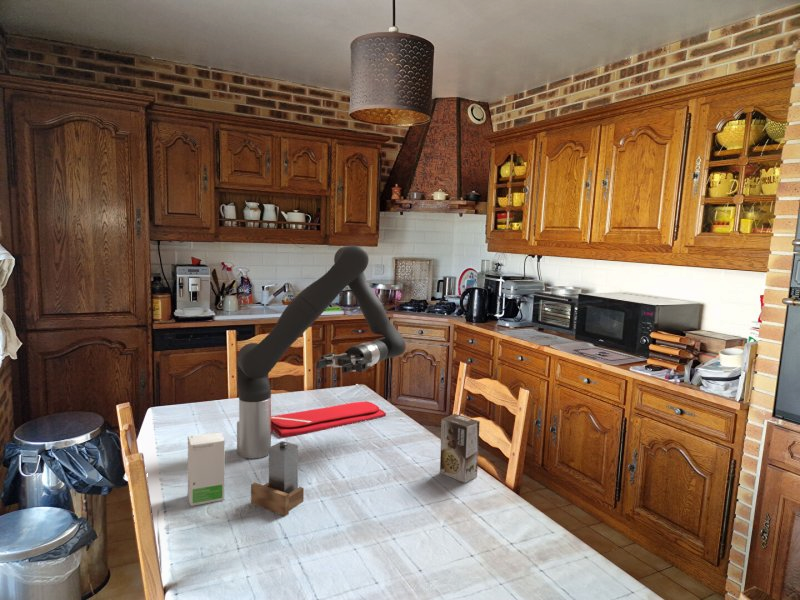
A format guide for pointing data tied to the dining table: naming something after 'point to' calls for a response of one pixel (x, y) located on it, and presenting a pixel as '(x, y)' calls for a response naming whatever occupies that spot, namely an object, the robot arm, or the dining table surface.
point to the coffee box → (459, 447)
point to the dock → (275, 498)
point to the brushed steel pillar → (283, 467)
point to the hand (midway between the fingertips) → (330, 367)
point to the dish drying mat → (323, 418)
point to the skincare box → (206, 468)
